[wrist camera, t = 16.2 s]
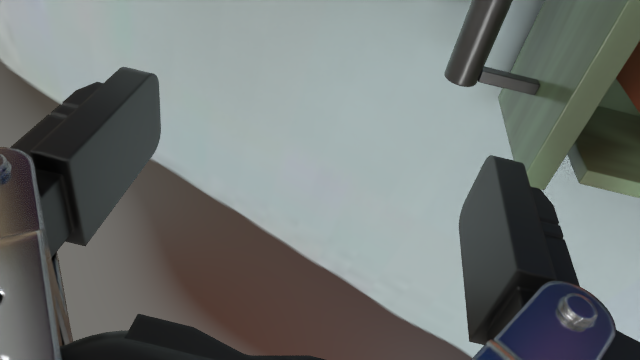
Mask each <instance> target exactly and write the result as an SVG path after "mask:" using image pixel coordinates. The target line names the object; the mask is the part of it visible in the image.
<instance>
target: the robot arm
mask: <svg viewBox="0 0 640 360" xmlns="http://www.w3.org/2000/svg"><path fill="white" fill-rule="evenodd" d="M160 133H161V123H160V99H159V82H158V78H157V76H156V75H155V74H152V73H148V72H144V71H139V70H135V69H131V68H127V67H122V68H120V69H119V70H118V71H117V72H115V73H114V74H113V75H112V76H111V77H110V78H109V79H108V80H107V81H106V82H105V83H100V82H96V83H93V84H91V85H88V86H86V87H83V88H81V89H78V90H76V91H75V92H74V93H73V94H72V95H70V96H69V97H68V98H67V99H66V100H65V101H64V102H63V104H62V105H59V106H58V107H57V108H55V109H54V110H53V111H52V112H51V115H47V116H46V117H45V118H44V119H43V120H42V121H40V122H39V123H38V124H37V125H36V126H35V127H34V128H32V129H31V130H30V131H29V132H28V133H26V134H25V135H24V136H23V137H22V138H21V139H20V140H18V141H17V142H16V143H15V144H14V145H13V146H11V147H10V148H7V147H0V360H324V359H321V358H316V357H313V356H250V355H246V354H243V353H241V352H239V351H237V350H235V349H233V348H231V347H229V346H227V345H226V344H224V343H222V342H220V341H218V340H216V339H215V338H213V337H211V336H209V335H207V334H205V333H203V332H201V331H199V330H198V329H196V328H194V327H190V326H186V325H182V324H178V323H174V322H170V321H166V320H162V319H158V318H154V317H149V316H145V315H141V314H138V315H137V317H136V319H135V320H134V322H133V324H132V326H131V327H130V329H129V331H115V332H106V333H101V334H97V335H92V336H89V337H85V338H82V339H79V340H76V341H74V342H73V338H72V333H71V328H70V323H69V317H68V312H67V306H66V301H65V294H64V288H63V283H62V277H61V271H60V266H59V260H58V256H57V251H58V249H59V248H60V247H61V246H62V244H63V243H64V242H65V241H66V242H70V243H74V244H78V245H82V246H86V245H87V243H88V242H89V241H90V239H91V238H92V236H93V235H94V234H95V232H96V231H97V229H98V228H99V227H100V226H101V224H102V223H103V222H104V220H105V219H106V217H107V216H108V215H109V213H110V212H111V211H112V209H113V208H114V207H115V205H116V204H117V203H118V201H119V200H120V199H121V197H122V196H123V194H124V193H125V192H126V190H127V189H128V188H129V186H130V185H131V184H132V182H133V181H134V180H135V178H136V177H137V175H138V174H139V173H140V171H141V170H142V169H143V167H144V166H145V165H146V163H147V162H148V161H149V159H150V158H151V157H152V155H153V154H154V152H155V150H156V148H157V146H158V143H159V139H160ZM558 223H559V221H558V218H557V215H556V212H555V209H554V206H553V204H552V203H551V202H550V201H549V199H548V198H547V197H546V196H545V195H544V193H543V192H542V191H541V190H540V189H539V188H535V187H531V186H530V183H529V179H528V176H527V172H526V169H525V166H524V164H523V163H521V162H517V161H513V160H509V159H505V158H500V157H496V156H492V155H491V156H489V157H488V158H487V159H486V160H485V162H484V164H483V166H482V168H481V170H480V172H479V174H478V176H477V178H476V180H475V182H474V184H473V186H472V188H471V190H470V192H469V194H468V196H467V198H466V200H465V202H464V204H463V207H462V210H461V214H460V219H459V234H460V245H461V256H462V267H463V277H464V288H465V299H466V310H467V321H468V332H469V341H470V342H474V343H478V344H482V345H484V346H483V347H482V349H481V350H480V351H479V352H478V353H477V354H476V355H475V356H474V357H473V358H472V359H471V360H640V342H638V341H636V340H634V339H632V338H630V337H628V336H626V335H624V334H622V333H621V332H619V331H617V330H616V327H615V323H614V320H613V318H612V316H611V314H610V312H609V311H608V309H607V308H606V307H605V306H604V305H603V303H602V302H601V301H599V300H598V299H597V298H596V297H595V296H594V295H592V294H591V293H590V292H588V291H587V290H585V289H583V288H581V287H580V286H579V282H578V279H577V276H576V273H575V270H574V267H573V264H572V261H571V258H570V255H569V252H568V249H567V246H566V243H565V240H563V233H562V230H561V227H560V226H559V225H558Z"/></svg>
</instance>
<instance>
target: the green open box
mask: <svg viewBox="0 0 640 360" xmlns="http://www.w3.org/2000/svg"><path fill="white" fill-rule="evenodd" d="M512 1H513V0H472V2H471V5H470V8H469V10H468V13H467V15H466V18H465V21H464V23H463V26H462V29H461V31H460V34H459V36H458V39H457V42H456V44H455V47H454V49H453V52H452V55H451V57H450V60H449V62H448V65H447V68H446V70H445V77H446V78H447V79H448V80H449V81H450V82H452V83H454V84H456V85H459V86H464V87H472V86H474V85H475V84H476V83H477V81H478V82H481V83H485V84H489V85H493V86H497V87H501V88H503V89H502V91H501V93H500V95H499V97H498V99H499V103H500V107H501V111H502V115H503V119H504V123H505V127H506V131H507V135H508V139H509V143H510V147H511V151H512V155H513V159H514V161H517V162H521V163H523V164H524V166H525V169H526V172H527V176H528V179H529V183H530V186H531V187H535V188H539V189H541V190H544V189H545V188H546V186H547V185H548V183H549V182H550V180H551V179H552V177H553V175H554V174H555V172H556V171H557V169H558V168H559V166H560V165H561V163H562V161H563V160H564V158H565V157H566V155H568V157H569V160H570V162H571V165H572V167H573V170H574V172H575V175H576V177H577V179H578V182H579V183H580V184H584V185H588V186H592V187H596V188H600V189H604V190H608V191H613V192H617V193H621V194H625V195H629V196H633V197H637V198H640V113H639V111H638V110H637V109H636V107H635V106H634V104H633V103H632V101H631V100H630V98H629V97H628V95H627V94H626V92H625V91H624V89H623V88H622V86H621V85H620V83H619V82H618V80H617V79H616V77H617V76H618V74H619V72H620V71H621V69H622V68H623V66H624V65H625V63H626V61H627V60H628V58H629V57H630V55H631V54H632V52H633V51H634V49H635V47H636V46H637V44H638V43H639V41H640V0H545V1H544V3H543V5H542V7H541V9H540V11H539V13H538V16H537V18H536V20H535V22H534V24H533V26H532V28H531V30H530V32H529V34H528V36H527V39H526V41H525V43H524V45H523V47H522V49H521V51H520V53H519V55H518V57H517V59H516V61H515V64H514V66H513V68H512V70H511V72H510V73H509V72H504V71H500V70H496V69H492V68H488V67H484V65H485V62H486V60H487V58H488V56H489V53H490V51H491V49H492V46H493V44H494V42H495V40H496V37H497V35H498V33H499V30H500V28H501V26H502V23H503V21H504V19H505V17H506V14H507V12H508V10H509V7H510V5H511V3H512Z"/></svg>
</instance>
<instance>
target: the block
mask: <svg viewBox="0 0 640 360" xmlns="http://www.w3.org/2000/svg"><path fill="white" fill-rule="evenodd" d="M616 79H617V80H618V82H619V83H620V85H621V86H622V88H623V89H624V91H625V92H626V94H627V95H628V97H629V98H630V100H631V101H632V103H633V104H634V106H635V107H636V109H637V110H638V111H639V113H640V41H639V43H638V44H637V46H636V47H635V49H634V51H633V52H632V54H631V55H630V57H629V58H628V60H627V61H626V63H625V65H624V66H623V68H622V69H621V71H620V72H619V74H618V76H617V77H616Z"/></svg>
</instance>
